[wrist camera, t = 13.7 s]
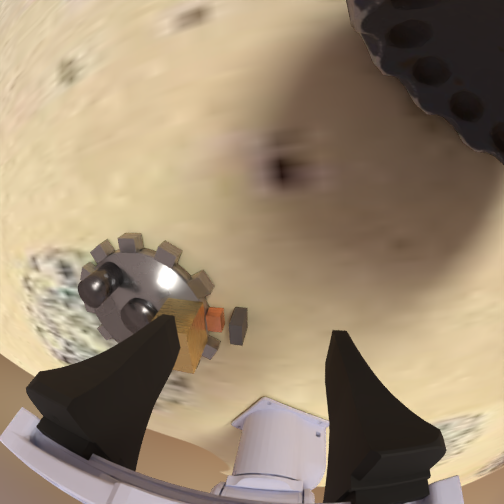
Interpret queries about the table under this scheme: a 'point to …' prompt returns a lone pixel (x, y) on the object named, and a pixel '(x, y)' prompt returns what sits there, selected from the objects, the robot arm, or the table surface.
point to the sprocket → (142, 288)
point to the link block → (187, 331)
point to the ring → (443, 60)
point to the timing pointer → (238, 326)
